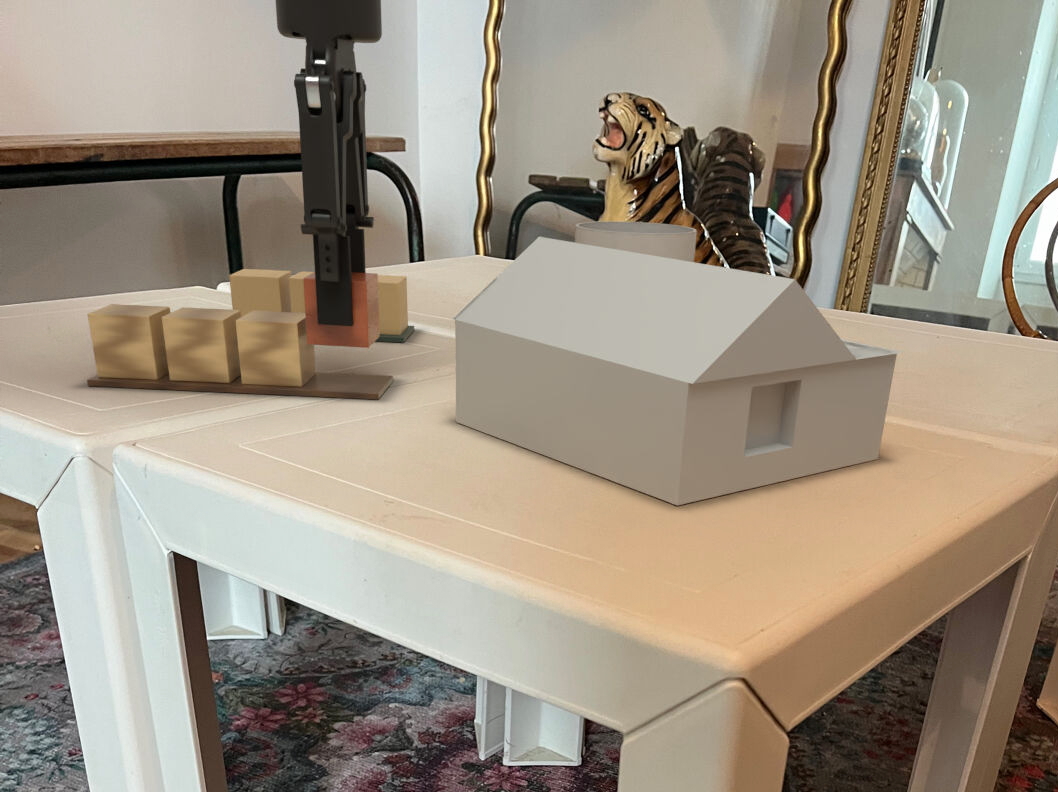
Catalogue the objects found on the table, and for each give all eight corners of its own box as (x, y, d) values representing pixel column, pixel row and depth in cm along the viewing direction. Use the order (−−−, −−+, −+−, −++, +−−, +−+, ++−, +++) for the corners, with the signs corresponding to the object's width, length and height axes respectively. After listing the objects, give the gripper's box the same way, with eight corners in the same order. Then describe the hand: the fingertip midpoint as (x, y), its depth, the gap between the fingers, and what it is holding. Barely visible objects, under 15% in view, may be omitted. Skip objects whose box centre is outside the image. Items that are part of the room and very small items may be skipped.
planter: (611, 345, 116) (617, 234, 111) (550, 324, 126) (553, 222, 120) (710, 338, 122) (721, 232, 117) (645, 319, 131) (652, 220, 126)
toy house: (453, 421, 86) (452, 239, 80) (651, 391, 98) (663, 231, 92) (680, 506, 70) (701, 286, 63) (885, 459, 82) (920, 269, 75)
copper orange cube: (307, 344, 91) (302, 278, 88) (321, 333, 95) (317, 269, 93) (368, 348, 91) (366, 281, 88) (379, 337, 95) (377, 273, 92)
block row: (168, 331, 114) (160, 273, 111) (190, 320, 120) (184, 264, 117) (403, 342, 113) (401, 284, 111) (414, 330, 119) (412, 275, 117)
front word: (87, 386, 92) (75, 315, 89) (120, 368, 98) (109, 301, 95) (378, 399, 92) (375, 328, 89) (393, 381, 98) (390, 314, 95)
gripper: (354, -36, 72) (367, 341, 84) (400, -11, 88) (406, 304, 100) (239, -42, 73) (268, 335, 84) (305, -16, 88) (322, 299, 100)
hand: (343, 318), depth 92 cm, fingers closed on copper orange cube, 5 cm apart
